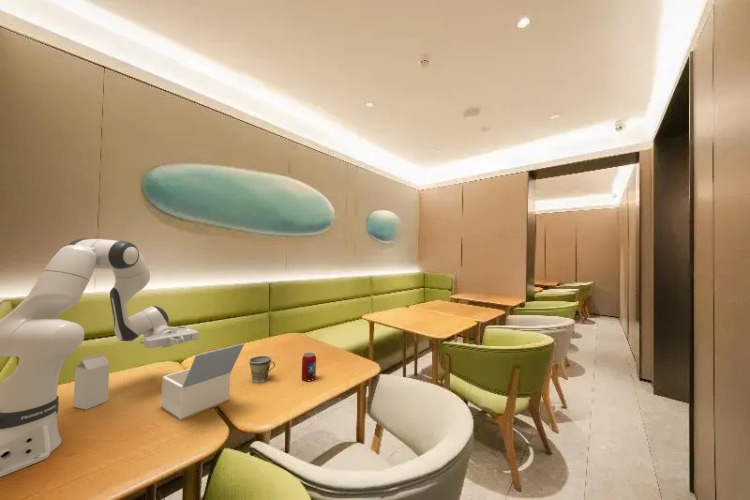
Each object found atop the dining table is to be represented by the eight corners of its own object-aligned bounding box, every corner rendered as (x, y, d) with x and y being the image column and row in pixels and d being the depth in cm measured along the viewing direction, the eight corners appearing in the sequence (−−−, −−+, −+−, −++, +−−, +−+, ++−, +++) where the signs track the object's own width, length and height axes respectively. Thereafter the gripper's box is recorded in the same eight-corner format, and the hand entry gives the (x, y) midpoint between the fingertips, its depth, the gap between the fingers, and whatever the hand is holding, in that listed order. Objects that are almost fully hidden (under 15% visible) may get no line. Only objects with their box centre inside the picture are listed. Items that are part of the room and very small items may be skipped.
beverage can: (312, 382, 136) (312, 357, 136) (299, 381, 137) (299, 356, 138) (317, 377, 142) (318, 352, 143) (305, 375, 144) (305, 351, 144)
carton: (159, 408, 110) (161, 376, 110) (209, 390, 126) (210, 362, 126) (178, 421, 101) (180, 387, 102) (230, 400, 117) (231, 370, 118)
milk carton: (107, 401, 114) (110, 353, 115) (85, 410, 107) (88, 359, 108) (95, 398, 116) (98, 351, 117) (72, 407, 109) (76, 357, 110)
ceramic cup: (243, 382, 134) (244, 361, 134) (257, 374, 144) (258, 354, 144) (268, 386, 131) (268, 364, 131) (280, 377, 141) (280, 357, 141)
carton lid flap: (196, 354, 98) (196, 356, 98) (243, 343, 113) (244, 344, 113) (182, 386, 102) (183, 387, 102) (229, 371, 117) (230, 372, 117)
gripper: (138, 333, 121) (152, 338, 114) (190, 326, 138) (205, 330, 131) (137, 348, 121) (150, 354, 113) (189, 339, 138) (204, 344, 131)
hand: (180, 341), depth 122 cm, fingers closed
